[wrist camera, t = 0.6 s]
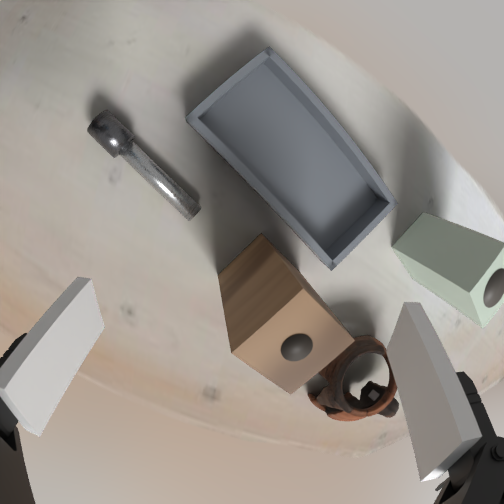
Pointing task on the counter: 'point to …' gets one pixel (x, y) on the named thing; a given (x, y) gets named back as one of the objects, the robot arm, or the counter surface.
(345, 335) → the walnut block
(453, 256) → the sage block
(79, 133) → the counter surface
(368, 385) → the pottery mug
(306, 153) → the slate tray
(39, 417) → the robot arm
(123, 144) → the rod
